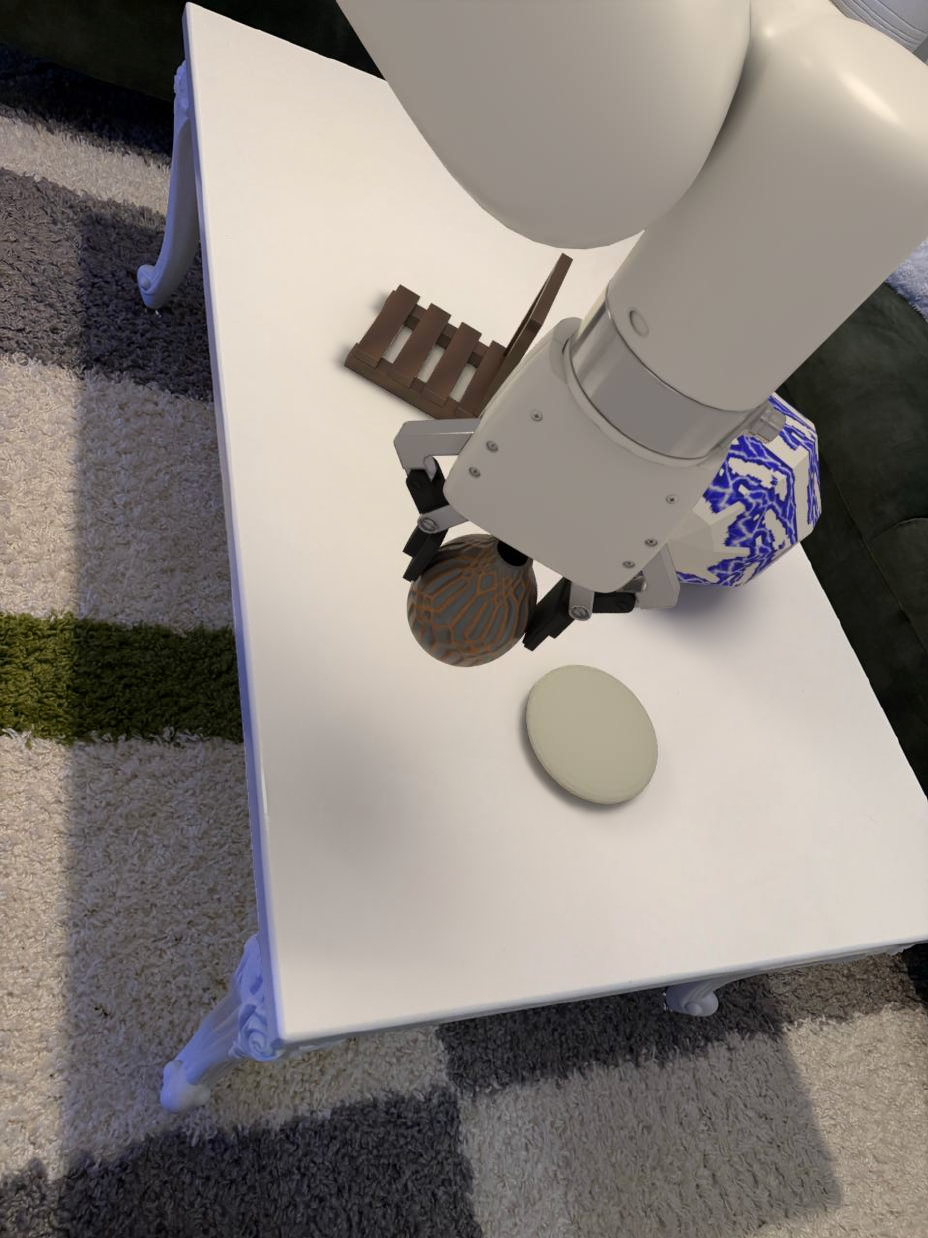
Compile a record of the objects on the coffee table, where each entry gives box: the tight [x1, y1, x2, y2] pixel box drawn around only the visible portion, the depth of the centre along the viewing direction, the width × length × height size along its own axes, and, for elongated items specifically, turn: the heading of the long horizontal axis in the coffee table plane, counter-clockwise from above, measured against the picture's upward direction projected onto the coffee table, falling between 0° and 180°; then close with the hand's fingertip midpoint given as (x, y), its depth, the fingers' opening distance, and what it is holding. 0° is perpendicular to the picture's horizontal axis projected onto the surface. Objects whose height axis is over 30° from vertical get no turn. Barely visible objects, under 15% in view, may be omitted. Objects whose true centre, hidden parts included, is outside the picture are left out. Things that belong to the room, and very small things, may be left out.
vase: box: [406, 533, 539, 668], centre depth 49 cm, size 7×7×9 cm
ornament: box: [667, 391, 822, 588], centre depth 82 cm, size 20×20×20 cm
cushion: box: [525, 664, 659, 805], centre depth 71 cm, size 12×12×3 cm
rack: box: [343, 252, 574, 420], centre depth 82 cm, size 14×12×15 cm
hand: (476, 595), depth 49 cm, fingers closed on vase, 6 cm apart
